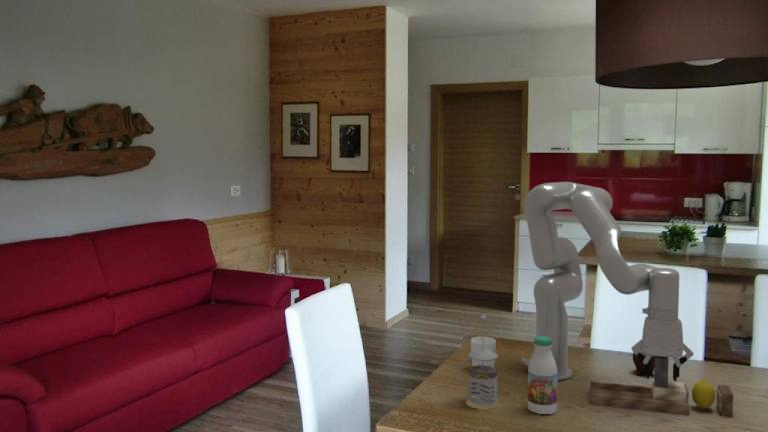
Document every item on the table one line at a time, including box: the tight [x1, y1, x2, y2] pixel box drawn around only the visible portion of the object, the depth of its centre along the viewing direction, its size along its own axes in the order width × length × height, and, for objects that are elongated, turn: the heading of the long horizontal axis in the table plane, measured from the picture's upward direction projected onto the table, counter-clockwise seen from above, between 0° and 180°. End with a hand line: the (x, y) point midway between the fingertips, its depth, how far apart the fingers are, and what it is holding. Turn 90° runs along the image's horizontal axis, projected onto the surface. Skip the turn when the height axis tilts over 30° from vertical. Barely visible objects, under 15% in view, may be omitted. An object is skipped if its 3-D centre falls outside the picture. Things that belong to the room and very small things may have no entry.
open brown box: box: [715, 384, 734, 418], centre depth 172 cm, size 3×7×6 cm, turn 161°
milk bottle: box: [527, 336, 558, 415], centre depth 174 cm, size 8×8×20 cm
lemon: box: [691, 379, 716, 410], centre depth 174 cm, size 6×6×8 cm
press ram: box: [651, 356, 690, 403], centre depth 176 cm, size 9×7×12 cm
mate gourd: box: [632, 347, 655, 378], centre depth 202 cm, size 8×8×15 cm
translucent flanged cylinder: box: [470, 336, 497, 368], centre depth 207 cm, size 8×8×10 cm
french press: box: [458, 314, 499, 405], centre depth 179 cm, size 10×12×25 cm
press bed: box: [589, 380, 690, 416], centre depth 179 cm, size 25×11×3 cm, turn 71°
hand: (661, 377), depth 177 cm, fingers open, 6 cm apart
